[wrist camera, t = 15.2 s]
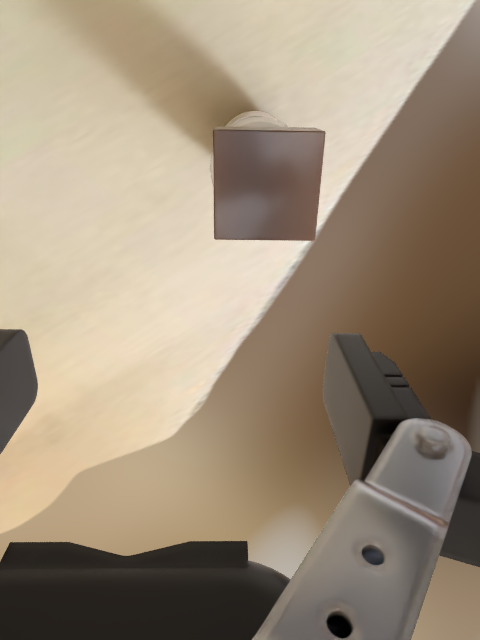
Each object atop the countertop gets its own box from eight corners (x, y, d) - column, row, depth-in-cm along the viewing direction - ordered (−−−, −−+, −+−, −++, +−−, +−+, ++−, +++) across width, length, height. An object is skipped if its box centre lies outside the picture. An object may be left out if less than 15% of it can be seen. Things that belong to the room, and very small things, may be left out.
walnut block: (315, 127, 24) (325, 131, 21) (306, 226, 26) (315, 240, 24) (215, 126, 24) (213, 129, 21) (216, 225, 26) (214, 239, 23)
